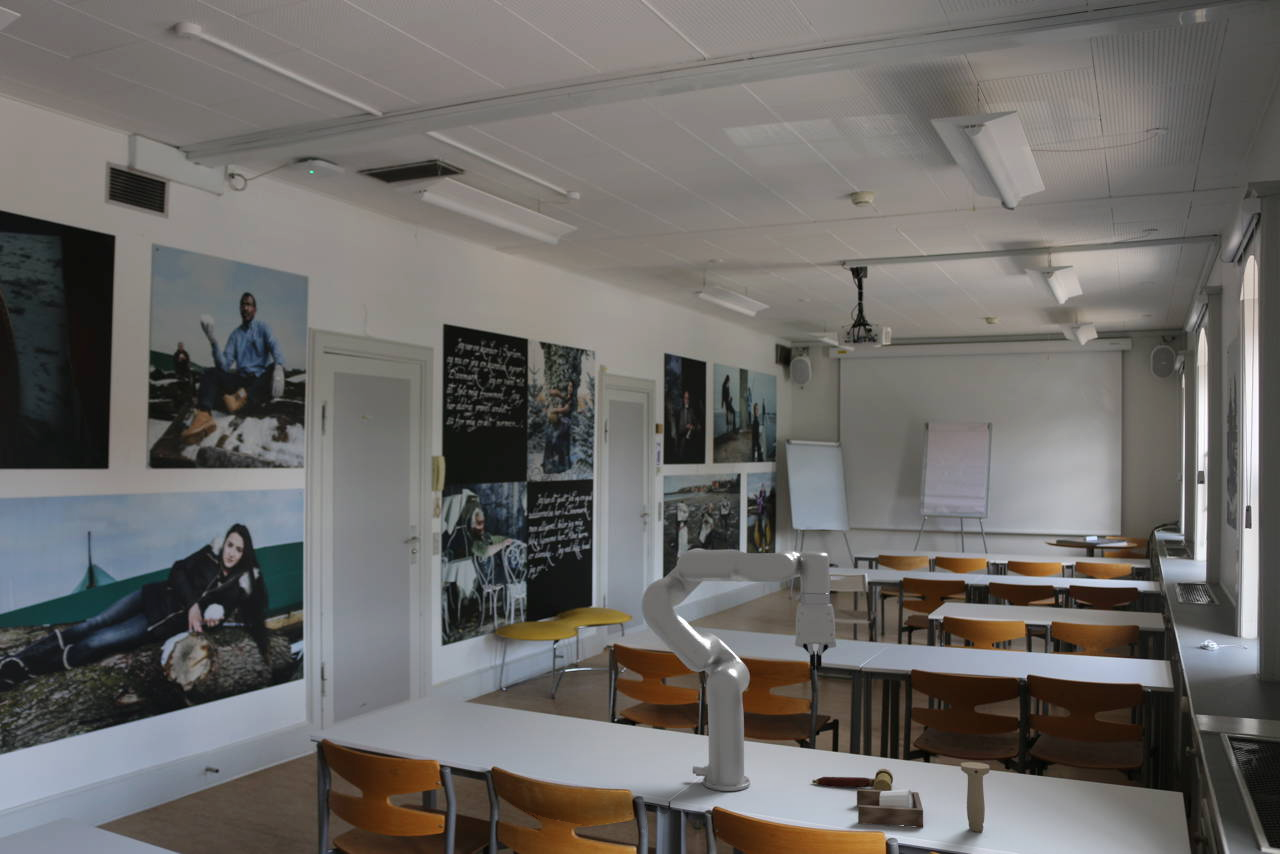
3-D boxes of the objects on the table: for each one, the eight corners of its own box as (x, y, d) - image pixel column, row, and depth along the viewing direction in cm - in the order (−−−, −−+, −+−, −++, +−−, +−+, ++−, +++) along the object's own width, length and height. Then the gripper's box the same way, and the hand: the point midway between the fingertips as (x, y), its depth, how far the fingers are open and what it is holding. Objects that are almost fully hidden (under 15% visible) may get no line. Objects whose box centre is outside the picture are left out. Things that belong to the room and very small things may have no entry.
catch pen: (858, 823, 238) (858, 806, 239) (856, 804, 251) (856, 788, 251) (923, 827, 236) (923, 810, 236) (918, 808, 249) (918, 792, 249)
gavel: (809, 778, 264) (813, 767, 273) (810, 796, 263) (815, 784, 273) (890, 780, 258) (892, 768, 267) (892, 798, 257) (893, 786, 267)
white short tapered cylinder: (886, 816, 246) (915, 818, 243) (880, 820, 240) (909, 821, 237) (884, 787, 248) (912, 788, 245) (877, 789, 242) (907, 790, 239)
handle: (960, 825, 237) (959, 761, 238) (989, 827, 236) (988, 763, 236) (962, 832, 232) (961, 767, 233) (991, 834, 231) (990, 769, 231)
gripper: (785, 600, 260) (786, 671, 259) (844, 601, 257) (845, 673, 257) (787, 596, 267) (787, 665, 267) (843, 597, 265) (844, 667, 264)
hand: (815, 669), depth 262 cm, fingers closed
